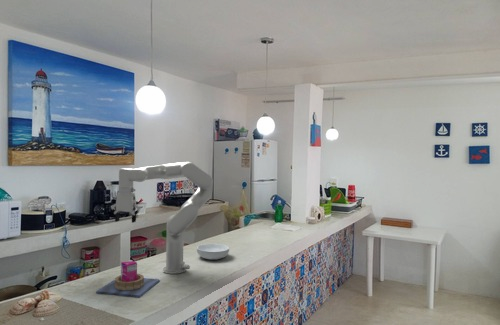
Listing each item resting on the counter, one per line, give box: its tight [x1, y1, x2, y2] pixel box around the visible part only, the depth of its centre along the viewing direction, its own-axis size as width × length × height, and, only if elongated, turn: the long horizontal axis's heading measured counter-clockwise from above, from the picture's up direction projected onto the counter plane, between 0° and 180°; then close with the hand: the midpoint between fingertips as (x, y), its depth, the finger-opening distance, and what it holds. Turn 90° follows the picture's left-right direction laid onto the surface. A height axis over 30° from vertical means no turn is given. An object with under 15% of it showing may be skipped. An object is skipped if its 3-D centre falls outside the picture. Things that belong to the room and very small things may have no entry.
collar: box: [95, 273, 161, 298], centre depth 182 cm, size 22×22×4 cm
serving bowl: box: [196, 243, 230, 261], centre depth 236 cm, size 21×21×7 cm
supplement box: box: [120, 259, 138, 282], centre depth 182 cm, size 6×6×12 cm
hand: (125, 221), depth 202 cm, fingers open, 9 cm apart
